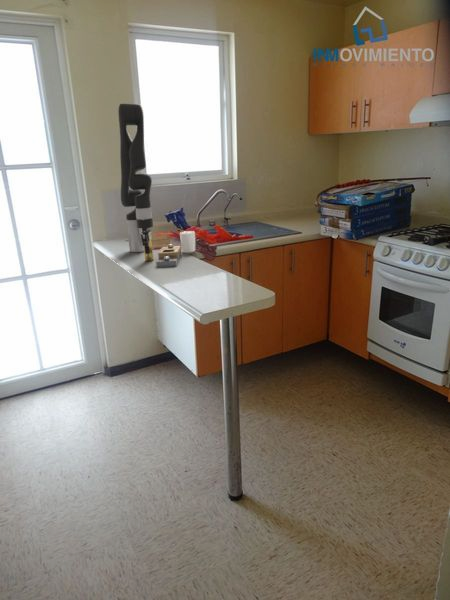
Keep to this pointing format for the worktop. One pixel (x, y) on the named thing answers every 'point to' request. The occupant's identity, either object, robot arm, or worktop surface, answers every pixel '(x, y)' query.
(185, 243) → the white cup
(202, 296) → the worktop surface
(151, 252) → the brass pin
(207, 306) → the worktop surface
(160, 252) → the tan and grey block
